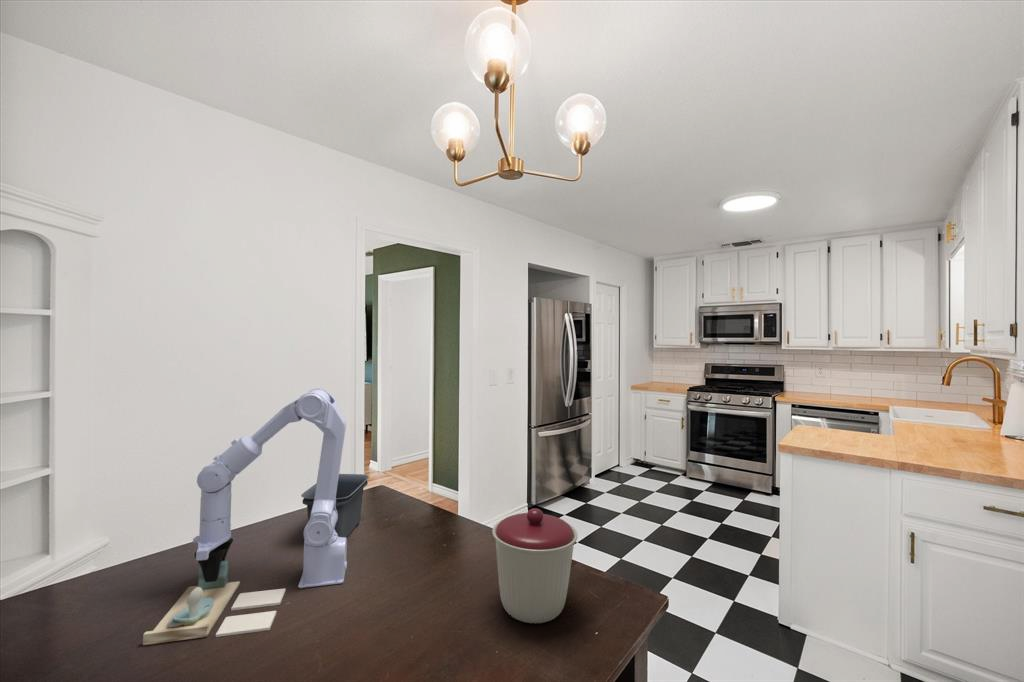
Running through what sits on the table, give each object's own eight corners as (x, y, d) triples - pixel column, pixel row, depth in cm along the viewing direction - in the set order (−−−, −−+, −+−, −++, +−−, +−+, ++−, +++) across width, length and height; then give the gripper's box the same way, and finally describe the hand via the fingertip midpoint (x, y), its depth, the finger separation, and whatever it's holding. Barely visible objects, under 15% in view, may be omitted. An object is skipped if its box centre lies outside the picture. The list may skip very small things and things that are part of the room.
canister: (582, 595, 99) (584, 501, 100) (565, 646, 82) (568, 532, 82) (506, 579, 105) (509, 490, 105) (476, 623, 88) (479, 517, 88)
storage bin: (345, 551, 117) (347, 497, 117) (287, 550, 117) (288, 496, 117) (370, 520, 138) (372, 474, 138) (321, 519, 138) (322, 473, 138)
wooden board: (239, 583, 100) (240, 559, 100) (207, 636, 82) (208, 607, 82) (188, 588, 97) (189, 563, 97) (142, 645, 79) (144, 614, 79)
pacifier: (158, 629, 83) (185, 633, 82) (158, 596, 83) (186, 599, 82) (192, 607, 90) (218, 610, 89) (192, 576, 90) (218, 578, 89)
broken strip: (285, 590, 98) (285, 588, 98) (269, 630, 84) (269, 627, 84) (239, 595, 95) (239, 593, 95) (215, 637, 82) (215, 634, 82)
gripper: (207, 506, 104) (205, 564, 104) (179, 531, 90) (177, 598, 90) (241, 504, 106) (239, 560, 106) (219, 528, 92) (217, 594, 92)
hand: (213, 577), depth 98 cm, fingers closed on wooden board, 2 cm apart
